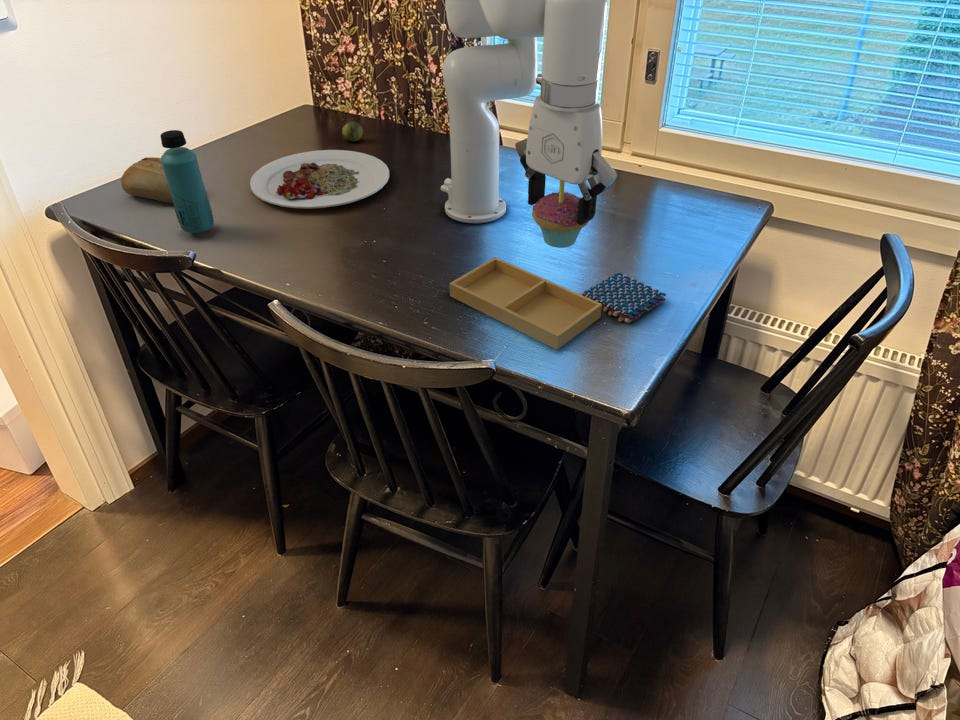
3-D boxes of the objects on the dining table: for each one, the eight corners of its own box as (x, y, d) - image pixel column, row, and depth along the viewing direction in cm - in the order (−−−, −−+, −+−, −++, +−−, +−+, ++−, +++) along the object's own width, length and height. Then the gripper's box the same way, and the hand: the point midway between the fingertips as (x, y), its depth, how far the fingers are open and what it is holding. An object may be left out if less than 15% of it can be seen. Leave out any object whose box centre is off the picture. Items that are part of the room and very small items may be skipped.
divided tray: (449, 296, 121) (449, 283, 120) (495, 269, 128) (495, 256, 127) (556, 350, 109) (558, 336, 108) (600, 317, 116) (602, 304, 115)
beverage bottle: (223, 227, 142) (198, 128, 129) (203, 243, 137) (174, 141, 124) (195, 222, 143) (168, 124, 131) (174, 238, 138) (144, 136, 126)
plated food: (405, 161, 167) (404, 147, 165) (367, 220, 144) (365, 204, 142) (283, 153, 171) (281, 140, 169) (227, 209, 148) (223, 194, 146)
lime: (340, 142, 177) (338, 122, 174) (355, 136, 180) (353, 117, 177) (352, 146, 175) (350, 126, 171) (367, 141, 177) (365, 121, 174)
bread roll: (143, 184, 158) (132, 149, 153) (203, 191, 155) (193, 155, 150) (115, 202, 151) (102, 166, 146) (177, 210, 148) (166, 173, 143)
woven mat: (616, 278, 126) (618, 268, 124) (667, 302, 119) (669, 292, 118) (577, 301, 120) (578, 290, 119) (628, 327, 114) (630, 317, 113)
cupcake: (584, 257, 104) (592, 180, 96) (526, 251, 105) (530, 174, 98) (589, 229, 110) (597, 154, 103) (535, 223, 112) (539, 149, 104)
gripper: (500, 83, 96) (498, 201, 107) (607, 115, 87) (593, 240, 98) (535, 70, 101) (530, 185, 112) (641, 99, 91) (624, 221, 102)
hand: (560, 211), depth 105 cm, fingers closed on cupcake, 8 cm apart
